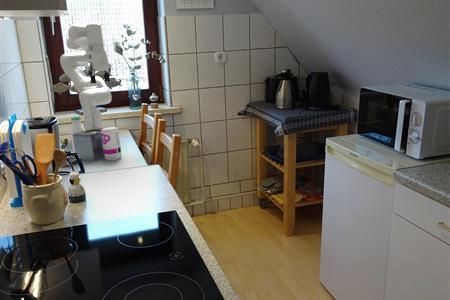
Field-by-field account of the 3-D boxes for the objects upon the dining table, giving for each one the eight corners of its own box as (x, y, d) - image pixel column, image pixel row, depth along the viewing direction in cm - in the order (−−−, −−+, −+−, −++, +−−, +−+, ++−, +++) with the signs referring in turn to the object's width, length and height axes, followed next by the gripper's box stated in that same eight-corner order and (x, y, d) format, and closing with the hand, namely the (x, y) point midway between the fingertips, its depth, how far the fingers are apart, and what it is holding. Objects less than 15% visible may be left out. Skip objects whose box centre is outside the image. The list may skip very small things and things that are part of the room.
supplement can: (111, 161, 191) (107, 130, 187) (101, 159, 196) (96, 129, 192) (125, 157, 197) (121, 127, 193) (114, 155, 202) (110, 126, 198)
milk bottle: (86, 155, 205) (80, 117, 200) (71, 156, 205) (65, 118, 200) (91, 152, 212) (85, 114, 208) (77, 152, 213) (71, 115, 208)
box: (76, 159, 198) (72, 134, 195) (99, 151, 212) (96, 127, 209) (94, 161, 193) (90, 134, 190) (117, 153, 207) (113, 128, 204)
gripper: (88, 48, 194) (93, 84, 198) (113, 47, 208) (117, 80, 213) (77, 49, 197) (82, 84, 202) (103, 48, 212) (107, 80, 216)
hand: (100, 82), depth 207 cm, fingers open, 9 cm apart
